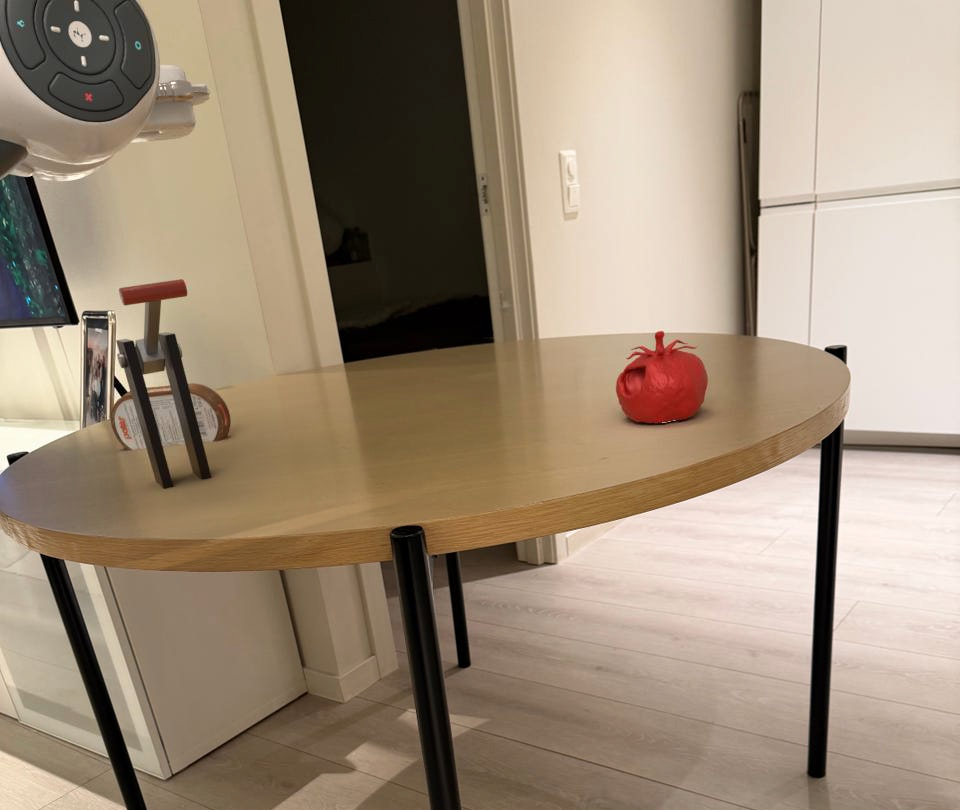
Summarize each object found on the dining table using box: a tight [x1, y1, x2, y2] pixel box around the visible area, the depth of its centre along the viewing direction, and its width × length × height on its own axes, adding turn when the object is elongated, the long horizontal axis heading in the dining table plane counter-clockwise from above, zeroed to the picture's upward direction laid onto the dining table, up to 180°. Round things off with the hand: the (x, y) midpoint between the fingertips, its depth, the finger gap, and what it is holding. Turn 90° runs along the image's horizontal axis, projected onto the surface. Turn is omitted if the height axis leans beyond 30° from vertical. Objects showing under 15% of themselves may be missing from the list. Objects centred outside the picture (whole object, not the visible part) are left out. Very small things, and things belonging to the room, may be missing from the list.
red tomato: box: [615, 330, 709, 424], centre depth 97 cm, size 10×10×9 cm
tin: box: [109, 382, 232, 451], centre depth 112 cm, size 15×3×8 cm, turn 84°
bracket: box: [115, 331, 213, 490], centre depth 91 cm, size 10×8×16 cm
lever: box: [118, 278, 188, 376], centre depth 84 cm, size 14×6×2 cm
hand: (28, 130), depth 65 cm, fingers closed
